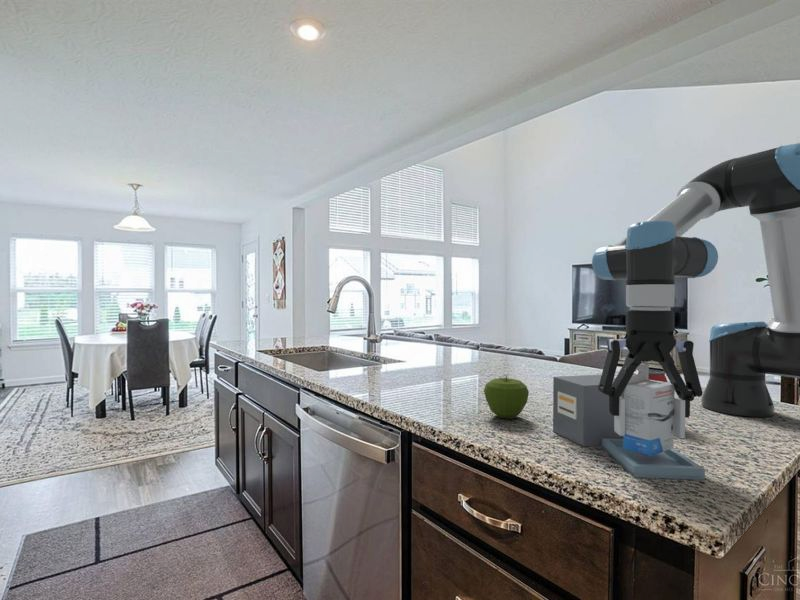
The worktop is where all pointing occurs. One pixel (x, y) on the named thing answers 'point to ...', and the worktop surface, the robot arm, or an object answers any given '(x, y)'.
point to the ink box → (648, 414)
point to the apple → (506, 397)
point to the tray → (654, 462)
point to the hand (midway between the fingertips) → (648, 434)
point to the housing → (582, 410)
